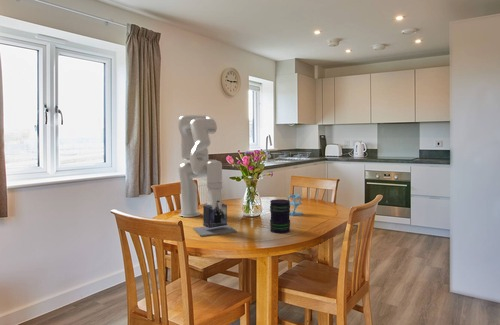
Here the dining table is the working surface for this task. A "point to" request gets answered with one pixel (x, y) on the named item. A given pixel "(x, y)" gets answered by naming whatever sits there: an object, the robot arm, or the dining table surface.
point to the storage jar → (280, 216)
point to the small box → (209, 216)
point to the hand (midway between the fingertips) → (215, 220)
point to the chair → (295, 204)
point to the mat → (214, 230)
